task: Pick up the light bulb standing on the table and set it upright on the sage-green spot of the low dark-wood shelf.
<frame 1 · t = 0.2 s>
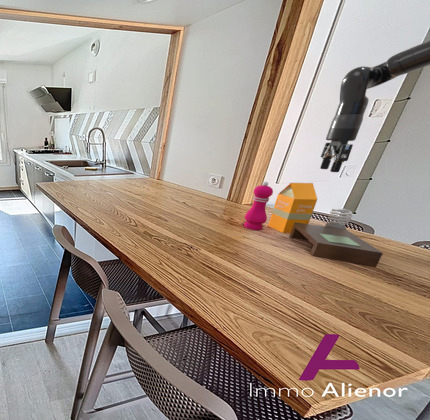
hand: (328, 170, 96), 25 cm above the table, tool pointing down, fingers open, 8 cm apart
light bulb: (330, 238, 95), on the table
pepper mill: (252, 228, 104), on the table
shelf: (326, 251, 84), on the table
orange juice: (285, 230, 102), on the table
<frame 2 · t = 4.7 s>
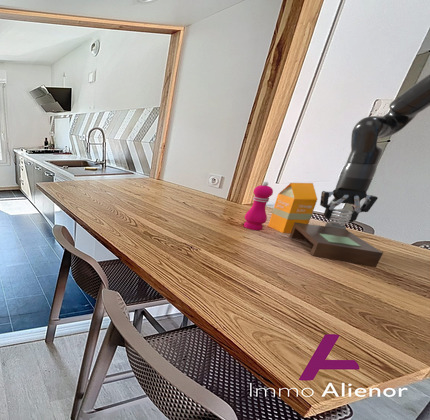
hand: (338, 219, 92), 8 cm above the table, tool pointing down, fingers closed on light bulb, 5 cm apart
light bulb: (330, 238, 95), on the table, touching gripper
everything else where it was.
when the fingers open (14 cm above the table, at t = 11.3 s): light bulb stays where it is, resting on shelf.
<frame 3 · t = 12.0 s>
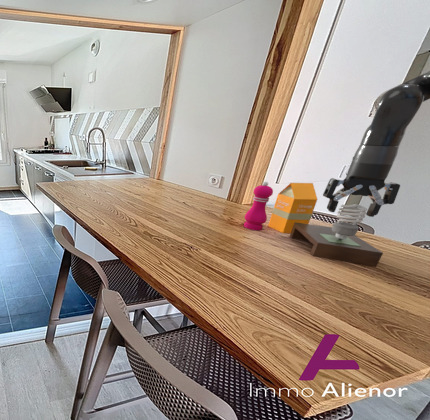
hand: (349, 213, 76), 15 cm above the table, tool pointing down, fingers open, 8 cm apart
light bulb: (339, 240, 79), point 6 cm above the table, touching shelf
everything else where it was.
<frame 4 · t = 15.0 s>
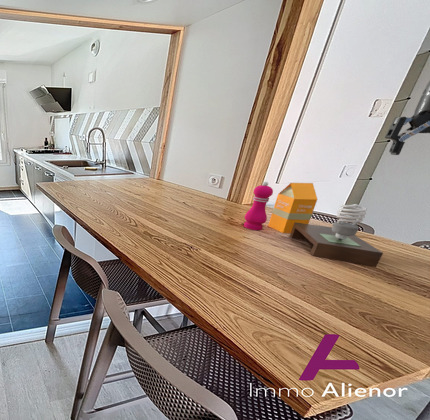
hand: (416, 155, 69), 33 cm above the table, tool pointing down, fingers open, 8 cm apart
nothing on the table moved.
at the end: light bulb 0.1 cm from the target spot on the shelf, point 6.0 cm above the shelf's base; light bulb tilted 0°; the gripper is holding nothing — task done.
